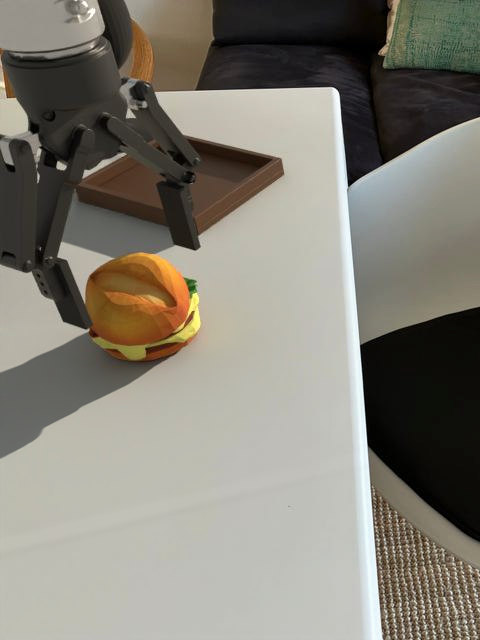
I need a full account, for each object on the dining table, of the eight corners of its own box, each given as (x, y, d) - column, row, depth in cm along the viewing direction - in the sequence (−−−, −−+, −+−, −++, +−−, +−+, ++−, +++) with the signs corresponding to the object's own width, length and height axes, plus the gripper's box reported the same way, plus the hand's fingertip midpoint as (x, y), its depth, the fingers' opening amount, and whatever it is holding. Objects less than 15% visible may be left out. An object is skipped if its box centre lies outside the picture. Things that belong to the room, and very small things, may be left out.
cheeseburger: (203, 291, 81) (183, 221, 73) (216, 373, 75) (197, 307, 67) (98, 309, 78) (66, 238, 70) (104, 395, 72) (69, 328, 64)
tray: (78, 200, 95) (72, 183, 94) (172, 146, 107) (168, 130, 105) (199, 235, 90) (194, 218, 88) (284, 174, 101) (281, 158, 99)
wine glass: (85, 157, 104) (30, -1, 91) (81, 127, 111) (29, -24, 98) (166, 144, 107) (123, -11, 94) (156, 115, 115) (116, -32, 102)
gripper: (-66, 113, 47) (57, 375, 61) (207, 3, 64) (255, 226, 78) (-146, 93, 50) (-11, 350, 63) (138, -8, 67) (196, 211, 81)
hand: (136, 282), depth 71 cm, fingers open, 13 cm apart
